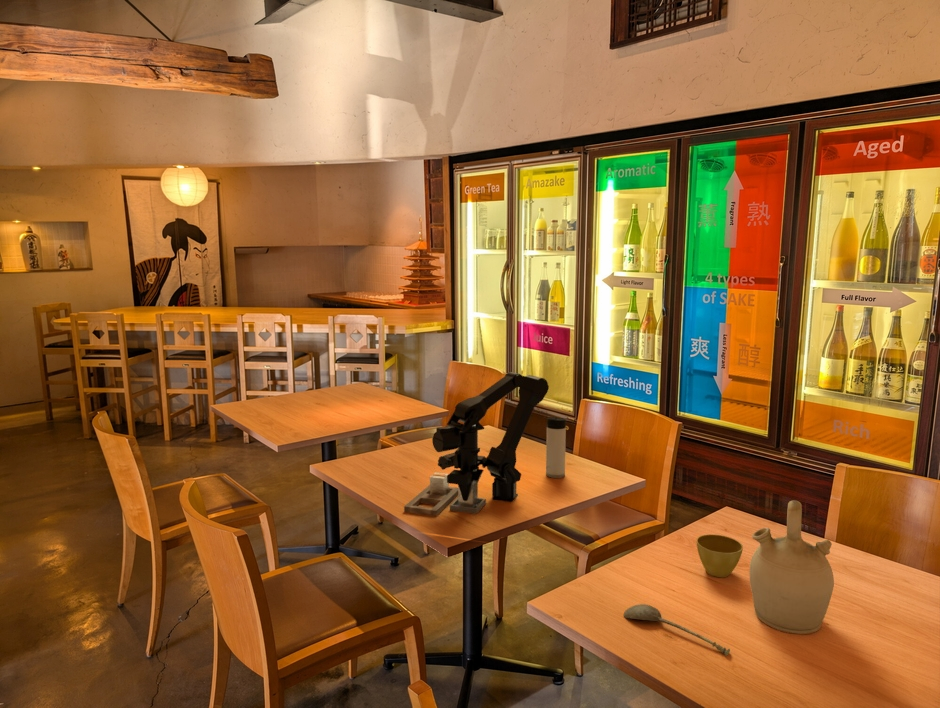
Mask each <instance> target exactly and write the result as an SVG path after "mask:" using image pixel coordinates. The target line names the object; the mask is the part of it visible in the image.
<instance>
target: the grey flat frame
mask: <svg viewBox="0 0 940 708" xmlns="http://www.w3.org/2000/svg"><path fill="white" fill-rule="evenodd" d="M457 498H458V487H455V486H449V493H448V494H447V495H446V496H441V495H434V494H430V484H429V485H427V486H426V487H425V488H424V489H423V490H422V491H421V492H420V493H418V494H417V495H416V496H415V497H413V498H412V499H411V500H410V501H409V502H407V503H406V504H405V505H404V506H403V511H404V513H410V514H417V515H424V516H431V517H438V516H439V515H440V514H441V513H442V512H443V511H444V510H445V509H446V508H447V507H448V506H450V505H451V504H452V503H453V502H454V501H455V500H456V499H457ZM421 504H427V505H432V506H433V507H431V508H430V507H425V506H420V505H421Z"/></svg>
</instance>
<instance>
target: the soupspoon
mask: <svg viewBox="0 0 940 708" xmlns="http://www.w3.org/2000/svg"><path fill="white" fill-rule="evenodd" d="M623 618H625V619H631V620H632V619H633V620H642V621H654V622H661V623H663V624H666V625H669V626H672V627H674V628H677V629H678V630H681V631H683V632H686V633H688V634H689V635H692V636H694V637H696V638H698V639H700V640H701V641H704V642H707V643H708V644H710V645H711V646H712V647H715V648H716V649H717V651H719V652H721V654H724V657H726V656H728V655H729V654H730V651H731V648H726V647H723V646H722V645H720V644H717V643H716V642H715V641H712V640H710V639H708V638H707V637H704V636H702V635H701V634H699V633H696V632H695V631H692V630H690V629H688V628H686V627H684V626H682V625H679V624H677V623H674V622H673V621H670V620H667V619H664V618H663V617H662V613H661V611H660V610H658V608H656V607H654V606H653V605H649V604H642V603H641V604H640V603H639V604H635V605H632V606H631V607H628V608H627V609H626V610H625V611H624V612H623Z"/></svg>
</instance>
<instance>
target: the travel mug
mask: <svg viewBox="0 0 940 708" xmlns="http://www.w3.org/2000/svg"><path fill="white" fill-rule="evenodd" d="M566 423H567V419H565V418H558V417H552V416H551V417H547V418H546V447H545V448H546V450H545V452H546V453H545V454H546V456H545V457H546V458H545V459H546V460H545V475H546V476H547V477H548V478H550V477H551V478H550V479H561V478H564V477H565V475H566V444H567V443H566V441H567V439H566V437H567V436H566V435H567V433H566V432H567V427H566V426H567V424H566Z"/></svg>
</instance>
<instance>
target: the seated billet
mask: <svg viewBox="0 0 940 708" xmlns="http://www.w3.org/2000/svg"><path fill="white" fill-rule="evenodd" d="M449 474H450V473H443V472H442V473H441V472H434V473H432V475H430V476H429V485H430V494H434V495H441V496H446V495H447V494H448V493H449V487H450V483H447V475H449Z"/></svg>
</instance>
